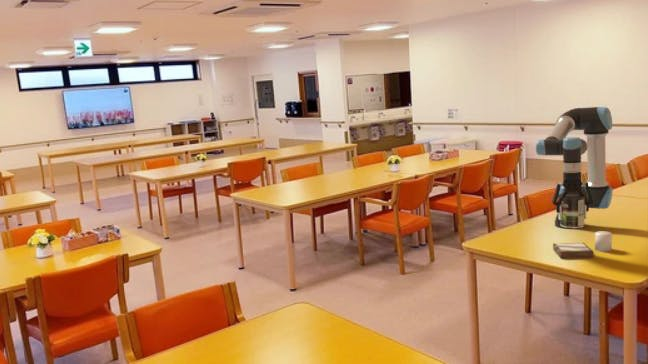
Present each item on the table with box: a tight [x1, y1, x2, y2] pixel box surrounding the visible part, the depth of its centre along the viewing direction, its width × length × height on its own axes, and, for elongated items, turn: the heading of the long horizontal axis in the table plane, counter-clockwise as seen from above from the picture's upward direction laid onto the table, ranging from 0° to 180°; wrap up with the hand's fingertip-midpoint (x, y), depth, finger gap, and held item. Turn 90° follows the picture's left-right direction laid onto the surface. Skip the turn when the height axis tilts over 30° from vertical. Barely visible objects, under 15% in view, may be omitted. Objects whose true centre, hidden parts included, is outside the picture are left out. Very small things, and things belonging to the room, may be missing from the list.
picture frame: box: [552, 242, 594, 260], centre depth 256 cm, size 14×14×3 cm
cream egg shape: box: [594, 230, 613, 253], centre depth 258 cm, size 7×7×8 cm
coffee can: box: [560, 194, 585, 229], centre depth 253 cm, size 10×10×14 cm
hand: (572, 218), depth 254 cm, fingers closed on coffee can, 10 cm apart
